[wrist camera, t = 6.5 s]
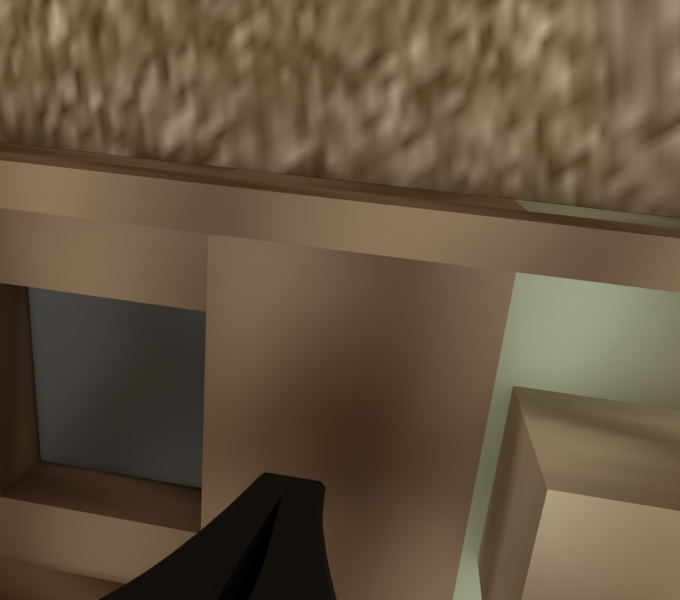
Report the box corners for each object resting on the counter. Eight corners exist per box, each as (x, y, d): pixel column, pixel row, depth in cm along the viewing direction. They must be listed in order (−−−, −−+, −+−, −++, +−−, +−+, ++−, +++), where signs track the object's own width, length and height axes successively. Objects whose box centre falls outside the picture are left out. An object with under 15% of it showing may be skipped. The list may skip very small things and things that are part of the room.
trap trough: (-162, 501, 20) (-277, 575, 17) (-239, 115, 16) (-409, 113, 13) (671, 660, 17) (730, 788, 14) (822, 233, 13) (954, 270, 10)
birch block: (477, 560, 15) (494, 710, 11) (513, 385, 13) (547, 489, 10) (680, 597, 14) (772, 767, 10) (741, 419, 13) (875, 543, 9)
